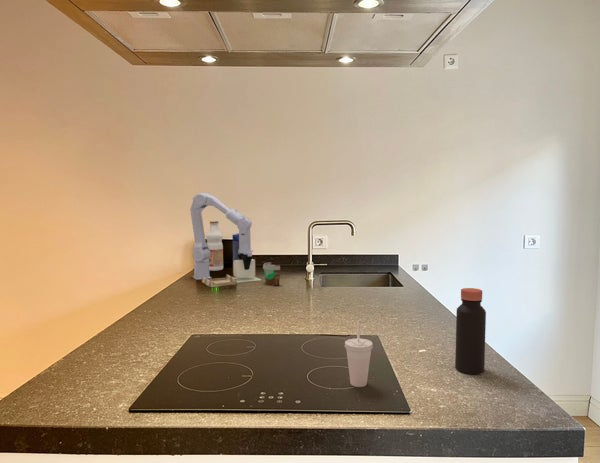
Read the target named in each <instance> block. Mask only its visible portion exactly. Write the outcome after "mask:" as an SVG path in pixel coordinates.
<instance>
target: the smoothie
mask: <svg viewBox="0 0 600 463" xmlns="http://www.w3.org/2000/svg"><path fill="white" fill-rule="evenodd" d="M356 324H357V325H356V326H357V327H356V328H357V329H356V332H357V334H356V338H349V339H347V340H345V341H344V348H345V349H346V356H347V357H346V358H347V366H348V374H349V375H348V376H349V381H350V382H349V383H350V385H351V386H353V387H354V388H355V387H356V388H362V387H366V386H367V383H368V377H369V368H370V361H371V354H372V350H373V348H374V344H373V341H371V340H369V339H367V338H366V339H365V338H361V337H360V336H361V335H360V333H361V332H360V327H361V326H360V325H361V324H360V322H357V323H356Z"/></svg>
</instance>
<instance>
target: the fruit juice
mask: <svg viewBox="0 0 600 463" xmlns="http://www.w3.org/2000/svg"><path fill="white" fill-rule="evenodd" d="M209 225H210V227H209V229H208V232H207V233H206V235H205V239H206V243H207V244H208V247H209V249H210V251H211V256H210V258H209V271H210V272H211V271H212V272H213V271H214V272H215V271H216V272H217V271H222V270H223V269H224V245H223V242H222V241H223V234H222V232H221V231H220V228H219V221H218V220H211V221H209Z"/></svg>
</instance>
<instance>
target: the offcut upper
mask: <svg viewBox="0 0 600 463" xmlns="http://www.w3.org/2000/svg"><path fill="white" fill-rule="evenodd" d="M230 282H231V281H221V282H213V284H220V283H230Z"/></svg>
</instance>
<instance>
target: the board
mask: <svg viewBox="0 0 600 463" xmlns="http://www.w3.org/2000/svg"><path fill="white" fill-rule="evenodd" d="M234 278H236V279H237V284H238V283H247V282H248V283H249V282H256V281H261V282H263V279H261V278H258V277H257V276H245V277H235V276H234Z"/></svg>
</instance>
